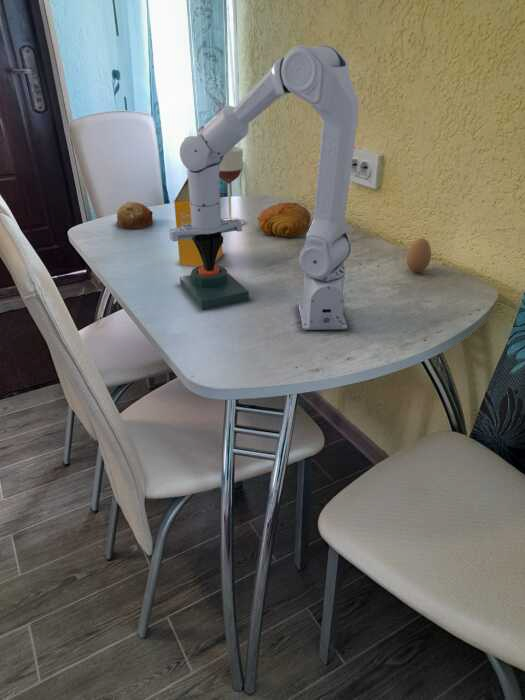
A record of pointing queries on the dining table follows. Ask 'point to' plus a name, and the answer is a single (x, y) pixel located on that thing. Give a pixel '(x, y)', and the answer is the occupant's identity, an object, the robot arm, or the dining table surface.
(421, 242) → the egg
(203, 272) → the push button
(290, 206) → the golden brown pastry bun
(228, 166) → the wineglass
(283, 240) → the dining table surface
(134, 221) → the bread roll
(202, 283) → the green button base
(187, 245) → the orange juice
